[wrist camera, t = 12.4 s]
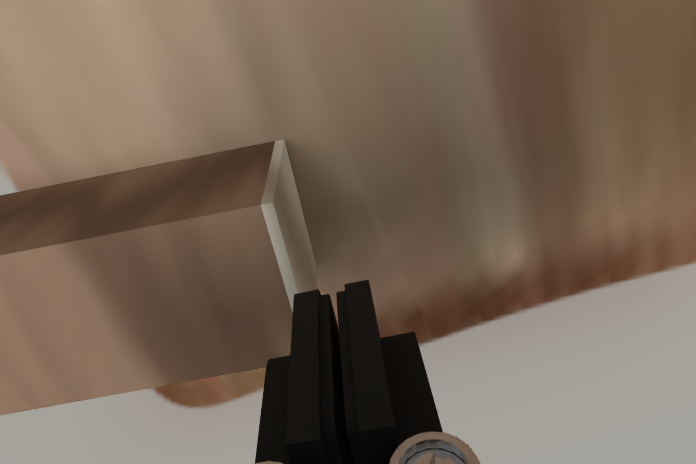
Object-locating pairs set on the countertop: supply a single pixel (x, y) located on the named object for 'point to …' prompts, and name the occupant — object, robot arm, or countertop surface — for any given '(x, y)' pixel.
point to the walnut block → (150, 276)
